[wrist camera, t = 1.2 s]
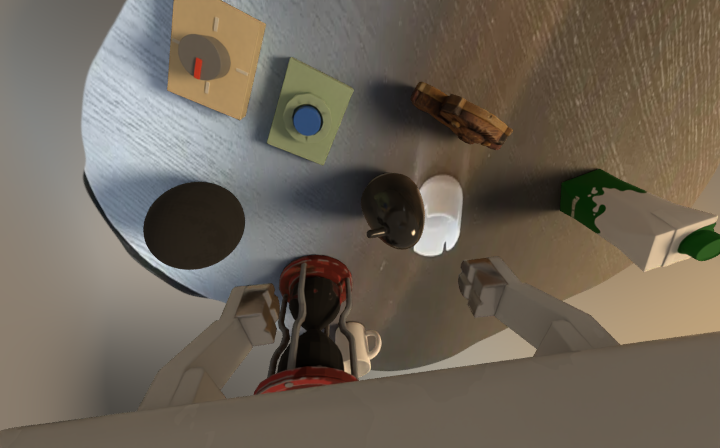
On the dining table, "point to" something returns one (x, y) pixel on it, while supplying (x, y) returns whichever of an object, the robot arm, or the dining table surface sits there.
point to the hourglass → (312, 326)
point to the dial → (204, 57)
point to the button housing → (313, 91)
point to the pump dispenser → (394, 210)
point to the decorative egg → (194, 225)
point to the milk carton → (639, 221)
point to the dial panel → (239, 36)
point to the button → (307, 120)
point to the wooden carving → (461, 117)
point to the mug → (357, 347)
